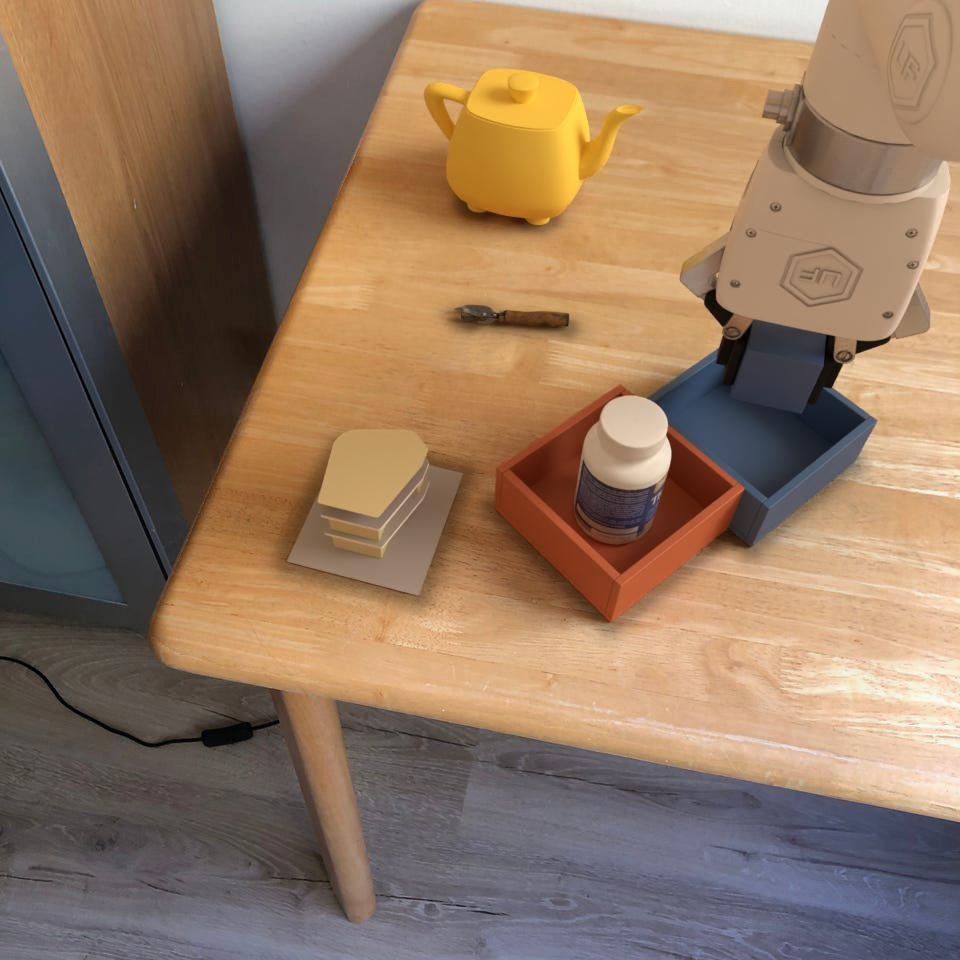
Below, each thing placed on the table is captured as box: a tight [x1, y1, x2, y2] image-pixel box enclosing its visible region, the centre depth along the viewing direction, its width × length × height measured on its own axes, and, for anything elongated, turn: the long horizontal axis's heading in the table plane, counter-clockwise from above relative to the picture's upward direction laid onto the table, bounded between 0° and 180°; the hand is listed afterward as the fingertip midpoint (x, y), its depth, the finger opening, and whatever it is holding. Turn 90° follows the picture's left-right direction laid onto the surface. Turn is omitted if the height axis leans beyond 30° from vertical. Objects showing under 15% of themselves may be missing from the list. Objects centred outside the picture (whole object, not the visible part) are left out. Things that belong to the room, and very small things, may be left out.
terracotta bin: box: [493, 383, 745, 623], centre depth 63 cm, size 11×11×5 cm
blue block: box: [730, 319, 827, 414], centre depth 60 cm, size 4×4×4 cm
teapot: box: [423, 68, 644, 226], centre depth 80 cm, size 18×11×11 cm, turn 73°
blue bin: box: [645, 347, 878, 548], centre depth 66 cm, size 11×11×5 cm
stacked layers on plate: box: [286, 428, 464, 597], centre depth 62 cm, size 10×9×6 cm
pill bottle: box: [574, 395, 671, 545], centre depth 60 cm, size 5×5×10 cm
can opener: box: [454, 304, 570, 328], centre depth 75 cm, size 9×2×1 cm, turn 80°
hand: (770, 377), depth 62 cm, fingers closed on blue block, 4 cm apart
